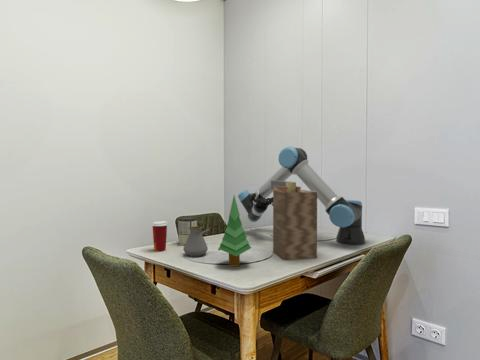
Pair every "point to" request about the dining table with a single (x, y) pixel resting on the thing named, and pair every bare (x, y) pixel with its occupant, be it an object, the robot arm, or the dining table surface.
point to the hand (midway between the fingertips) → (270, 191)
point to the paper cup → (159, 235)
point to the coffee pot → (197, 241)
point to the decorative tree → (234, 237)
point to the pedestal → (294, 223)
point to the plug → (290, 185)
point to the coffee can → (185, 228)
